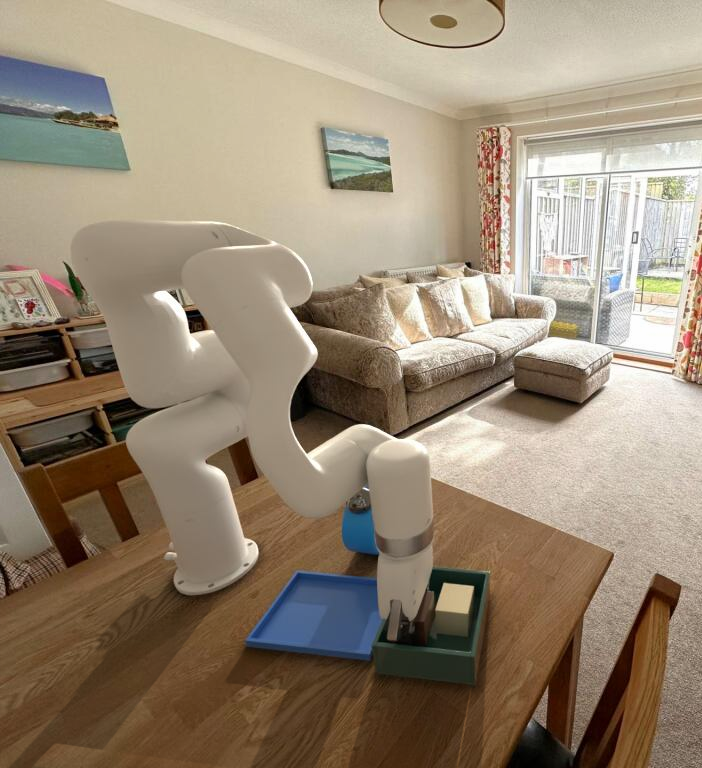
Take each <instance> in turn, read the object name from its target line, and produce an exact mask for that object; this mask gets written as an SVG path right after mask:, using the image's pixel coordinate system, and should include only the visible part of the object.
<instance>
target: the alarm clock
mask: <svg viewBox="0 0 702 768" xmlns="http://www.w3.org/2000/svg"><path fill="white" fill-rule="evenodd" d="M341 538H342V544H343V545H344V547H345V549H346V550H348V551H349V552H354V553H361V554H368V555H376V556H377V557H379V554H380V553H379V552H378V550H377V547H376V539H375V531H374V524H373V516H372V508H371V501H370V493H369V485H367V486H365V487H363V488H362V489H361V490H360V491H359V492H358V493H357V494H355V495H354V496H353V497H352V498H351V499H350V500H349V501H347V502H346V503H345V508H344V511H343V516H342V521H341Z"/></svg>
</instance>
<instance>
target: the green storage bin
mask: <svg viewBox="0 0 702 768" xmlns="http://www.w3.org/2000/svg"><path fill="white" fill-rule="evenodd" d="M444 583H448V584H457V585H467V586H474V613H473V618H472V622H471V627H470V632H469V636H468V637H463V636H455V635H446V634H438V633H437V631H436V616H435V618H434V621H433V624H432V628H431V631H430V634H429V638H428V641H427V644H426V647H425V646H418V647H417V646H408V645H399V644H396V643H392V641H389V640H387V635H388V628H389V622H390V621H389V617H390V615H391V611H390V613H389V615H388V618H387V619H383V620H382V622H381V625H380V627H379V629H378V632H377V634H376V636H375V639H374V641H373V643H372V652H373V656H372V658H373V666H374V671H375V674H381V675H388V676H395V677H405V678H413V679H421V680H430V681H439V682H447V683H456V684H463V685H464V684H465V685H470V687H473V688H474V687H476V684H477V677H478V673H479V666H480V660H481V654H482V648H483V643H484V637H485V629H486V623H487V618H488V613H489V607H490V602H491V601H490V599H491V571H485V570H474V569H464V568H454V567H442V566H433V567H432V572H431V575H430V578H429V588H428V590H426V591H431V592H434V604H435V609H436V606H437V603H438V600H439V596H440V593H441V590H442V587H443V584H444Z"/></svg>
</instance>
